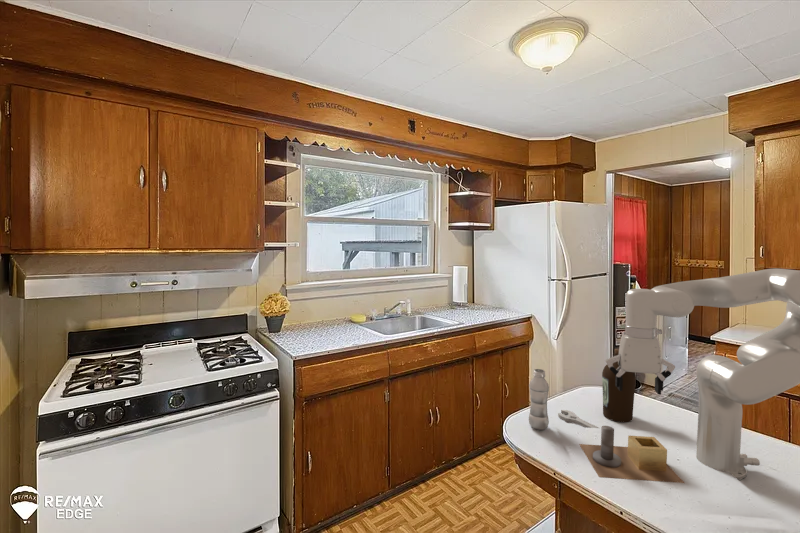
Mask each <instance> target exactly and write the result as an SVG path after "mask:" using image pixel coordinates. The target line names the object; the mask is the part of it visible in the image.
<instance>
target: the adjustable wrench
mask: <svg viewBox="0 0 800 533" xmlns="http://www.w3.org/2000/svg"><path fill="white" fill-rule="evenodd" d="M561 413H562V414H561ZM557 416H558V418H559V419H560V420H561V421H564V422H566V423H572V422H573V423H572V424H576V425H579V426H581V427H583V428H585V429H586V428H589V429H600V427H599V426H597V425H595V424H592V423H590V422H588V421H586V420H583V419H582V418H580V417H579V416H578V415H577V414H576V413H575V412H573V411H571V410H567V409H561V412H558V413H557Z"/></svg>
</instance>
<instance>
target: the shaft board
mask: <svg viewBox="0 0 800 533" xmlns="http://www.w3.org/2000/svg"><path fill="white" fill-rule="evenodd" d="M600 427H601V428H600V429H601V430H600V434H601V435H600V436H601V437H600V445H599V444H586V443H585V444H583V443H579V444H578V445H579V446H580V448H581V449H582V452H583V453H584V455H585V456H586V458H587V460H588V461H589V463H590V465H591V466H592V468H593V469H594V471H595V473H596V474H597V476H598V477H599V478H604V479H605V478H606V479H607V478H608V479H621V480H633V481H634V480H635V481H648V482H649V481H650V482H665V483H677V484H685V481H683V479H682V478H681V477H680V476H679V475H678V474H677V473H676V471H675V470H673V469H672V468H671V466H670V465H669V464H668V463H667V467H666V471H657V470H642V469H638V468H637V467H636V465H635V464H634V463H633V462H632V460H631V459H630V458H629V457H628V446H617V445H614V444H615V443H614V442H615V428H614V427H612V426H610V425H602V426H600Z"/></svg>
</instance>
